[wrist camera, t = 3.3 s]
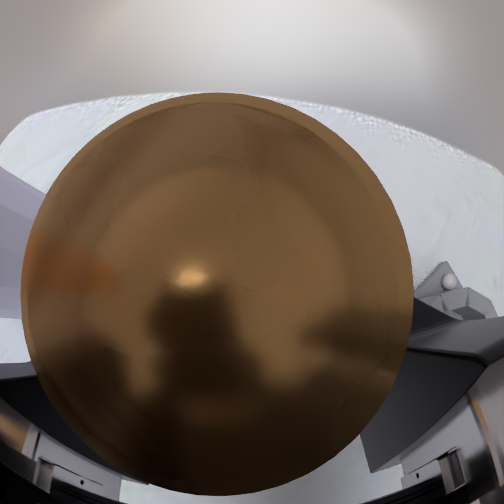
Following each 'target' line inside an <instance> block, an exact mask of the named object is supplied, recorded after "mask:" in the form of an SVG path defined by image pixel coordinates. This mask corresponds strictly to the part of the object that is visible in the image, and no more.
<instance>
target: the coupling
mask: <svg viewBox="0 0 504 504" xmlns="http://www.w3.org/2000/svg"><path fill="white" fill-rule="evenodd" d="M20 298H21V316H22V323H23V329H24V335H25V340H26V344H27V348H28V351H29V355H30V358H31V361H32V364H33V367H34V369H35V371H36V374H37V376H38V379H39V381H40V383H41V385H42V387H43V389H44V391H45V393H46V394H47V396H48V398H49V400H50V401H51V403H52V405H53V406H54V408H55V409H56V410H57V412H58V413H59V415H60V416H61V417H62V419H63V420H64V421H65V423H66V424H67V425H68V426H69V427H70V428H71V430H72V431H73V432H74V433H75V434H76V435H77V436H78V437H79V438H80V439H81V440H82V441H83V442H84V443H85V444H86V445H87V446H88V447H90V448H91V449H92V450H93V451H94V452H95V453H97V454H98V455H99V456H100V457H102V458H103V459H105V460H106V461H108V462H109V463H111V464H112V465H114V466H115V467H117V468H118V469H120V470H122V471H123V472H125V473H127V474H129V475H131V476H134V477H136V478H138V479H140V480H142V481H144V482H147V483H150V484H152V485H155V486H159V487H162V488H165V489H168V490H172V491H177V492H182V493H188V494H194V495H207V496H230V495H240V494H248V493H254V492H258V491H262V490H266V489H270V488H274V487H277V486H280V485H283V484H285V483H288V482H290V481H293V480H295V479H297V478H299V477H302V476H304V475H306V474H308V473H310V472H311V471H313V470H315V469H316V468H318V467H320V466H321V465H323V464H324V463H326V462H327V461H329V460H330V459H332V458H333V457H335V456H336V455H337V454H338V453H339V452H340V451H342V450H343V449H344V448H345V447H346V446H347V445H348V444H350V443H351V442H352V441H353V440H354V439H355V438H356V437H357V436H358V435H359V434H360V433H361V431H362V430H363V429H364V428H365V427H366V425H367V424H368V423H369V422H370V421H371V419H372V418H373V417H374V416H375V414H376V413H377V412H378V410H379V408H380V407H381V405H382V403H383V402H384V400H385V398H386V397H387V395H388V393H389V391H390V390H391V388H392V386H393V384H394V382H395V379H396V377H397V374H398V372H399V369H400V367H401V364H402V361H403V359H404V356H405V352H406V348H407V344H408V339H409V335H410V330H411V325H412V315H413V298H414V287H413V275H412V266H411V258H410V254H409V250H408V246H407V242H406V238H405V234H404V230H403V227H402V225H401V222H400V220H399V217H398V215H397V213H396V210H395V208H394V206H393V203H392V201H391V199H390V198H389V196H388V194H387V192H386V191H385V189H384V187H383V186H382V184H381V183H380V181H379V179H378V178H377V176H376V175H375V173H374V172H373V171H372V170H371V168H370V167H369V166H368V165H367V164H366V162H365V161H364V160H363V159H362V158H361V156H360V155H359V154H358V153H357V152H356V151H355V150H354V149H353V148H352V147H351V146H350V145H348V144H347V143H346V142H345V141H344V140H343V139H342V138H341V137H340V136H338V135H337V134H336V133H335V132H333V131H332V130H330V129H329V128H327V127H326V126H324V125H323V124H322V123H320V122H319V121H317V120H315V119H314V118H312V117H310V116H308V115H306V114H304V113H302V112H300V111H298V110H296V109H294V108H292V107H289V106H286V105H283V104H280V103H278V102H275V101H272V100H268V99H264V98H260V97H255V96H250V95H244V94H234V93H201V94H192V95H186V96H180V97H175V98H171V99H167V100H164V101H161V102H158V103H154V104H151V105H149V106H146V107H144V108H142V109H139V110H137V111H135V112H133V113H131V114H129V115H127V116H125V117H123V118H122V119H120V120H118V121H117V122H115V123H113V124H112V125H110V126H109V127H107V128H106V129H105V130H103V131H102V132H101V133H99V134H98V135H97V136H95V137H94V138H93V139H92V140H90V141H89V142H88V143H87V144H86V145H85V146H84V147H83V148H82V149H81V150H80V151H79V152H78V153H77V154H76V155H75V156H74V157H73V158H72V159H71V161H70V162H69V163H68V164H67V165H66V167H65V168H64V169H63V170H62V171H61V173H60V174H59V176H58V177H57V179H56V180H55V182H54V183H53V185H52V186H51V188H50V189H49V191H48V193H47V195H46V197H45V198H44V200H43V202H42V204H41V206H40V208H39V210H38V213H37V215H36V218H35V220H34V223H33V225H32V228H31V231H30V235H29V238H28V242H27V245H26V249H25V254H24V260H23V266H22V274H21V291H20Z"/></svg>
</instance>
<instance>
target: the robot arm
mask: <svg viewBox="0 0 504 504" xmlns="http://www.w3.org/2000/svg"><path fill="white" fill-rule="evenodd" d="M360 437H361V440H362V444H363V447H364V451H365V454H366V458H367V462H368V466H369V469H370V473H374V472H377V471H381V470H384V469H387V468H389V467H392V466H395V465H398V464H402V468H403V472H404V477H402V478H401V483H402V487H403V489H402V490H400V491H397V492H394V493H392V494H389V495H386V496H383V497H380V498H377V499H374V500H370V501H367V502H364V503H360V504H504V316H502V317H495V318H488V319H480V320H471V321H466V320H459V319H456V318H453V317H451V316H449V315H447V314H445V313H443V312H441V311H440V310H438V309H436V308H434V307H432V306H430V305H428V304H426V303H425V302H423V301H421V300H419V299H417V298H415V297H414V298H413V315H412V325H411V330H410V335H409V339H408V344H407V348H406V352H405V356H404V359H403V361H402V364H401V367H400V369H399V372H398V374H397V377H396V379H395V382H394V384H393V386H392V388H391V390H390V391H389V393H388V395H387V397H386V398H385V400H384V402H383V403H382V405H381V407H380V408H379V410H378V412H377V413H376V414H375V416H374V417H373V418H372V419H371V421H370V422H369V423H368V424H367V425H366V427H365V428H364V429H363V430H362V431H361V433H360ZM122 479H123V480H127V481H132V482H136V483H141V484H146V485H149V483H147V482H144V481H142V480H140V479H138V478H136V477H134V476H131V475H129V474H127V473H125V472H123V471H122V470H120V469H118V468H117V467H115V466H114V465H112V464H111V463H109V462H108V461H106V460H105V459H103V458H102V457H100V456H99V455H98V454H97V453H95V452H94V451H93V450H92V449H91V448H90V447H88V446H87V445H86V444H85V443H84V442H83V441H82V440H81V439H80V438H79V437H78V436H77V435H76V434H75V433H74V432H73V431H72V430H71V428H70V427H69V426H68V425H67V424H66V423H65V421H64V420H63V419H62V417H61V416H60V415H59V413H58V412H57V410H56V409H55V408H54V406H53V405H52V403H51V401H50V400H49V398H48V396H47V394H46V393H45V391H44V389H43V387H42V385H41V383H40V381H39V379H38V376H37V374H36V371H35V369H34V367H33V364H32V361H30V362H26V363H2V364H0V504H127V503H123V502H120V501H119V495H120V487H121V480H122Z"/></svg>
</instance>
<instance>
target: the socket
mask: <svg viewBox="0 0 504 504" xmlns="http://www.w3.org/2000/svg"><path fill="white" fill-rule="evenodd" d="M414 297H415V298H417V299H419V300H421V301H423V302H425V303H426V304H428V305H430V306H432V307H434V308H436V309H438V310H440V311H441V312H443V313H445V314H447V315H449V316H451V317H453V318H456V319H459V320H466V321H471V320H480V319H488V318H495V317H498V316H497V313H496V311H495V309H494V307H493V304H492V302H491V301H490V299H488V298H486V297H485V296H483V295H481V294H480V293H478V292H476V291H474V290H473V289H471V288H468V287H466V288H463V287H462V285H461V284H460V282H459V280H458V278H457V277H456V275H455V273H454V272H453V270H452V268H451V267H450V265H449V263H448V262H447V261H445V262H442V263H440V265H439V266H438V267H437V268H436V269H435V270H434V271H433V272H432V273H431V274H430V276H429V277H428V278H427V279H426V280H425V281H424V282H423V283H422V284H421V285H420V286H419V287H418V288H417V289H416V290H415V291H414Z"/></svg>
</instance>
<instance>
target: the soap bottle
mask: <svg viewBox="0 0 504 504" xmlns="http://www.w3.org/2000/svg"><path fill="white" fill-rule="evenodd" d="M45 197H46V194H44V193H43V192H41V191H39V190H37V189H36V188H34V187H32V186H31V185H29V184H27V183H26V182H24V181H23V180H21V179H19V178H18V177H16V176H14V175H13V174H11V173H10V172H8V171H6V170H5V169H3V168H2V167H0V318H14V319H22V316H21V298H20V291H21V274H22V266H23V260H24V254H25V249H26V245H27V242H28V238H29V235H30V231H31V228H32V225H33V223H34V220H35V218H36V215H37V213H38V210H39V208H40V206H41V204H42V202H43V200H44V198H45Z"/></svg>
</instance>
